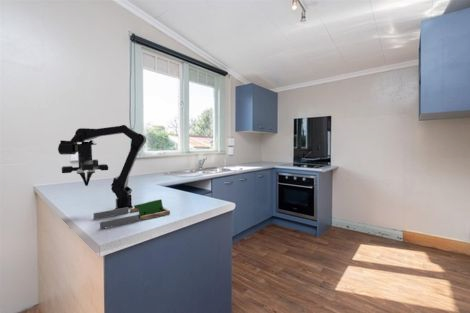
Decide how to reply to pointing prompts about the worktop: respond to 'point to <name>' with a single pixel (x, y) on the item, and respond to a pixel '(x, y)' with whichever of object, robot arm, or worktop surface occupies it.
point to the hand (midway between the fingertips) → (86, 185)
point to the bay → (165, 212)
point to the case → (115, 221)
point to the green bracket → (149, 207)
